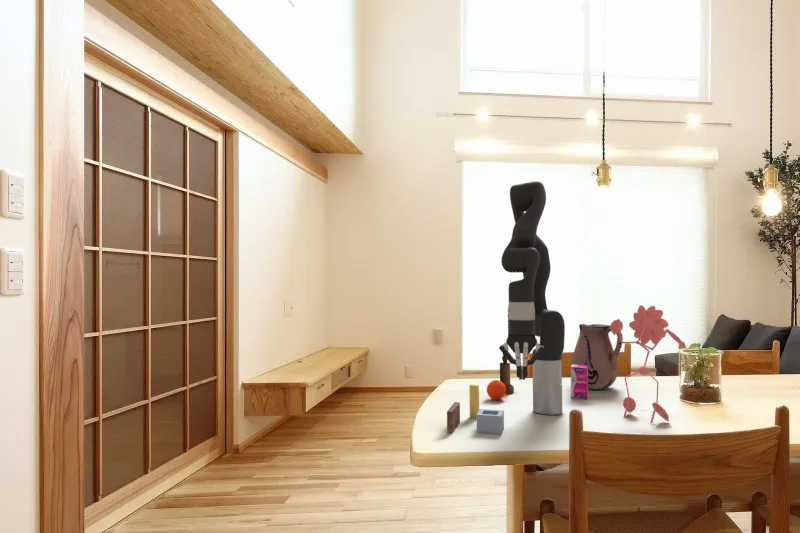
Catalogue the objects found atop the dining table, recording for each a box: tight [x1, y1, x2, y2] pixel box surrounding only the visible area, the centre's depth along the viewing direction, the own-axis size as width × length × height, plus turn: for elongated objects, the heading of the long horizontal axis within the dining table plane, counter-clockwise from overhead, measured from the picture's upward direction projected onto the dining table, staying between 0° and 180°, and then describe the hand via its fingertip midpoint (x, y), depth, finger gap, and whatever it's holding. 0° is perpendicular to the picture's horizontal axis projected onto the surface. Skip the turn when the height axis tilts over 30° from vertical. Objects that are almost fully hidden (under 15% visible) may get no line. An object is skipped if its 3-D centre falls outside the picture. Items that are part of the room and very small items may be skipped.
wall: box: [446, 401, 461, 434], centre depth 155 cm, size 2×12×6 cm, turn 164°
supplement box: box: [570, 365, 589, 400], centre depth 193 cm, size 6×6×12 cm
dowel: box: [468, 383, 480, 420], centre depth 166 cm, size 3×3×10 cm
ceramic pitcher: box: [570, 323, 624, 390], centre depth 210 cm, size 18×21×25 cm
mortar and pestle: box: [499, 347, 515, 395], centre depth 203 cm, size 7×6×18 cm
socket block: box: [476, 408, 505, 435], centre depth 152 cm, size 7×7×5 cm
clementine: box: [486, 379, 507, 401], centre depth 191 cm, size 8×7×7 cm
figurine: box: [609, 304, 687, 429], centre depth 165 cm, size 15×26×35 cm, turn 31°
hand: (522, 379), depth 150 cm, fingers closed
